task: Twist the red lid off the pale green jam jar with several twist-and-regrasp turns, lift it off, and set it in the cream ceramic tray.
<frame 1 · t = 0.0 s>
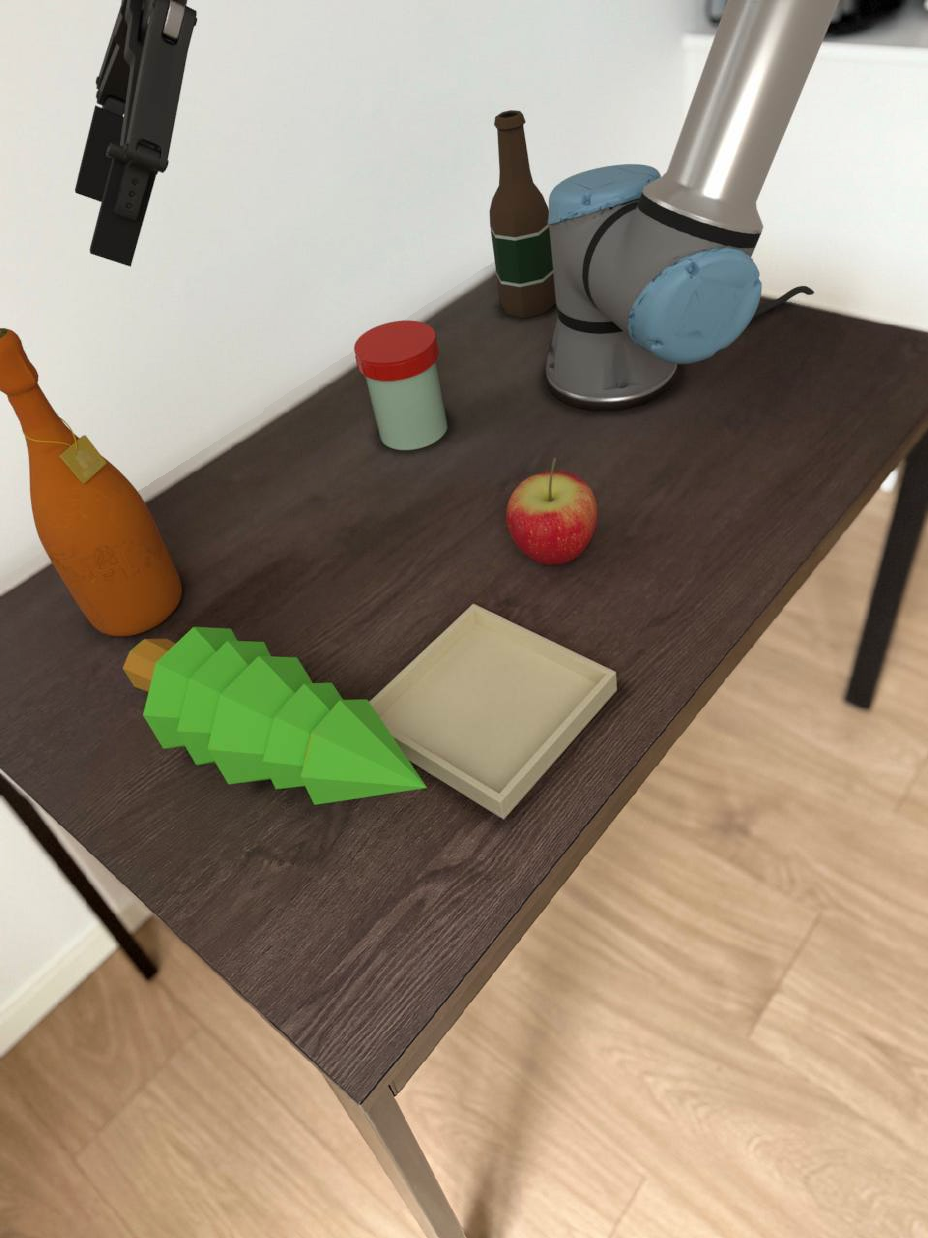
hand: (100, 226, 71), 36 cm above the table, tool tilted 35°, fingers open, 13 cm apart
jar: (413, 429, 111), on the table
apple: (555, 553, 92), on the table
lid: (395, 343, 103), point 11 cm above the table, screwed on, not yet turned
beer bottle: (528, 306, 128), on the table
tray: (488, 711, 79), on the table
decorative tree: (286, 767, 78), on the table
wine bottle: (139, 608, 95), on the table
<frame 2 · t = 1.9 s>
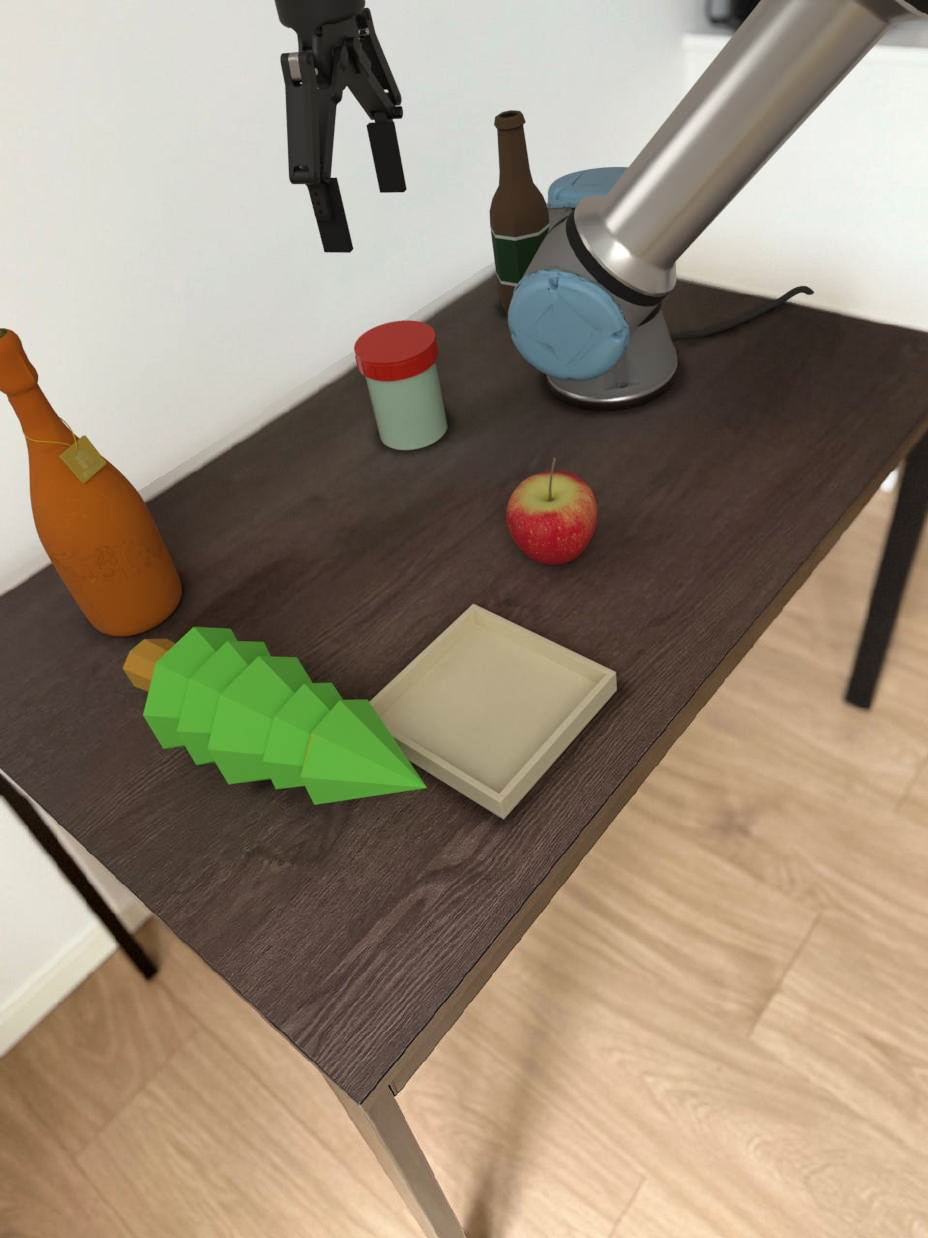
hand: (367, 219, 93), 25 cm above the table, tool pointing down, fingers open, 13 cm apart
nothing on the table moved.
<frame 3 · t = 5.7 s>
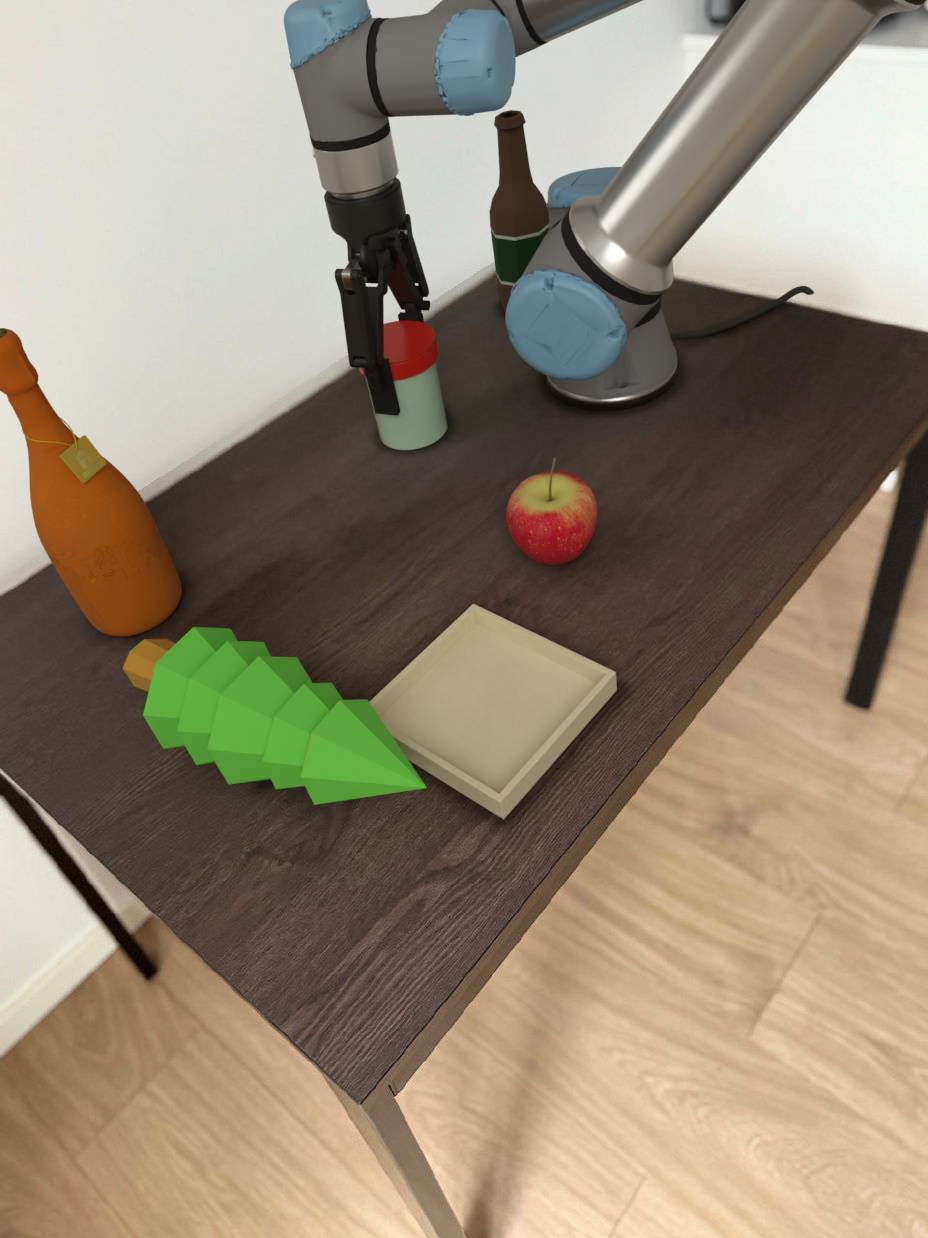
hand: (404, 388, 107), 5 cm above the table, tool pointing down, fingers closed on lid, 9 cm apart
lid: (395, 343, 103), point 11 cm above the table, screwed on, not yet turned, touching gripper
everything else where it was.
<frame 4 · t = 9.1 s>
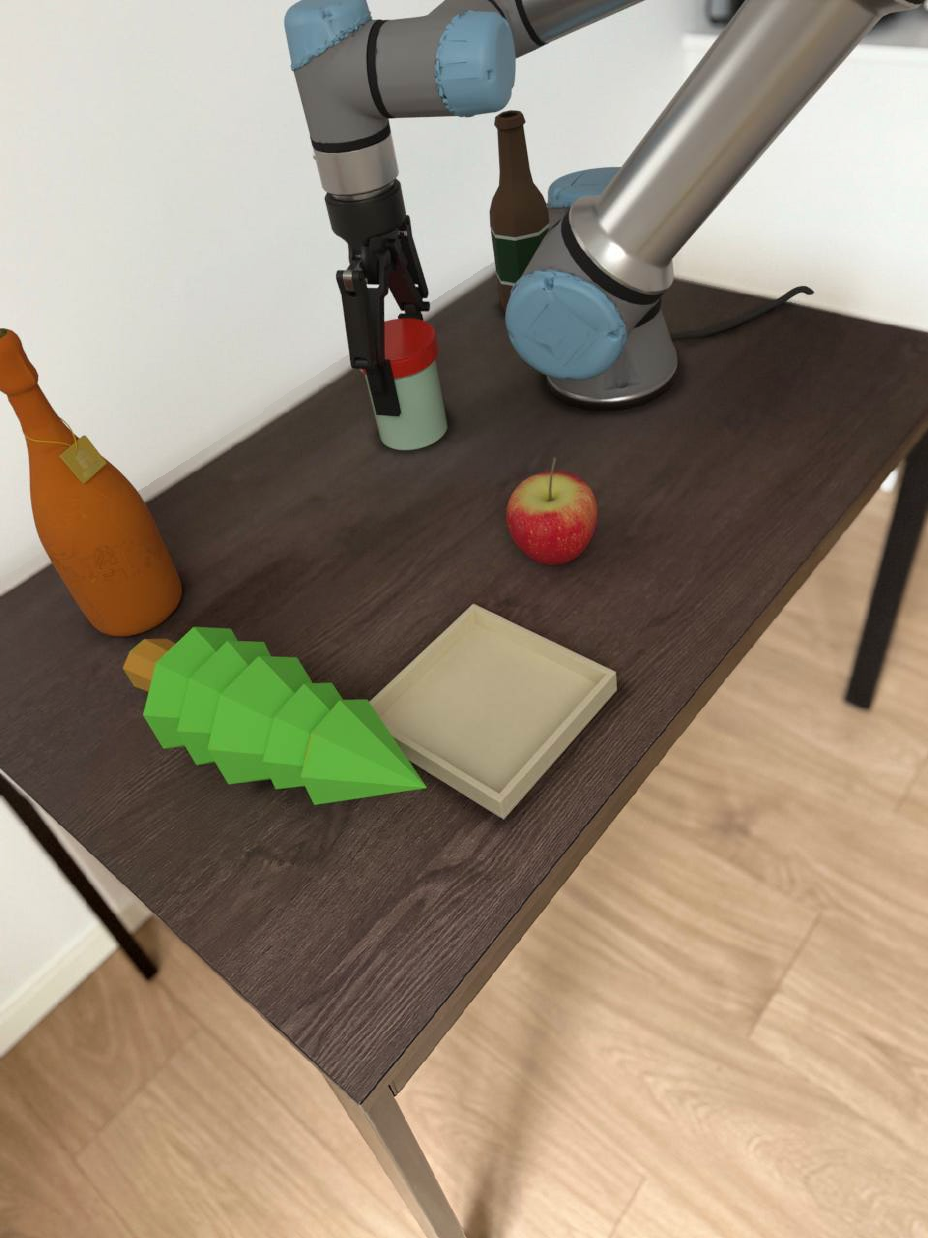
hand: (405, 389, 107), 5 cm above the table, tool pointing down, fingers closed on lid, 9 cm apart
lid: (394, 341, 103), point 11 cm above the table, turned 89° so far, risen 0.2 cm, still on its thread, touching gripper
everything else where it was.
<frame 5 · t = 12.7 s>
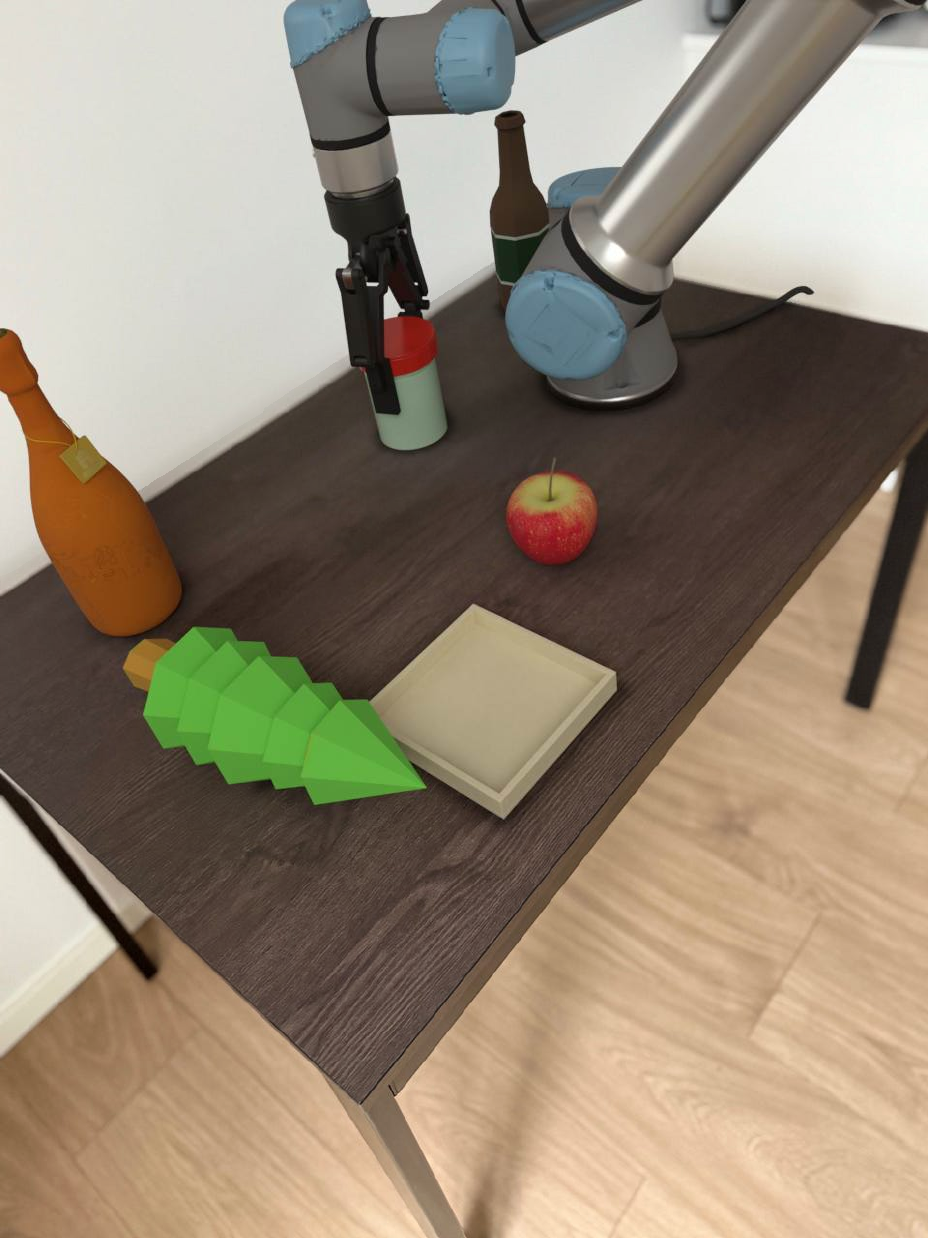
hand: (404, 388, 107), 6 cm above the table, tool pointing down, fingers closed on lid, 9 cm apart
lid: (394, 339, 103), point 12 cm above the table, turned 178° so far, risen 0.5 cm, still on its thread, touching gripper
everything else where it was.
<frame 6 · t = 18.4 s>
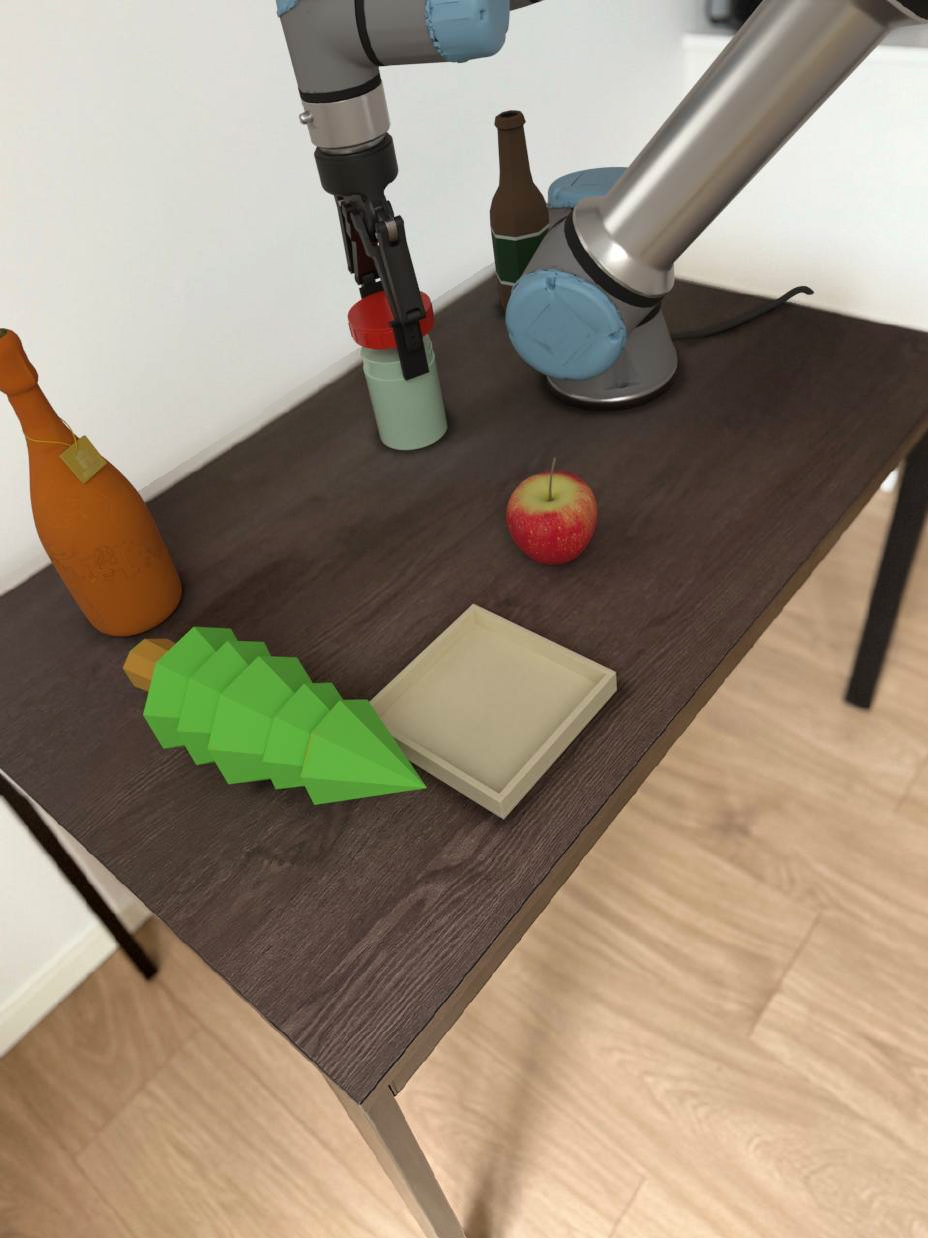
hand: (399, 356, 104), 10 cm above the table, tool pointing down, fingers closed on lid, 9 cm apart
lid: (389, 311, 100), point 15 cm above the table, off its thread, touching gripper
everything else where it was.
when the fingers open (2 cm above the table, at t = 27.7 s): lid drops 5 cm, resting on tray.
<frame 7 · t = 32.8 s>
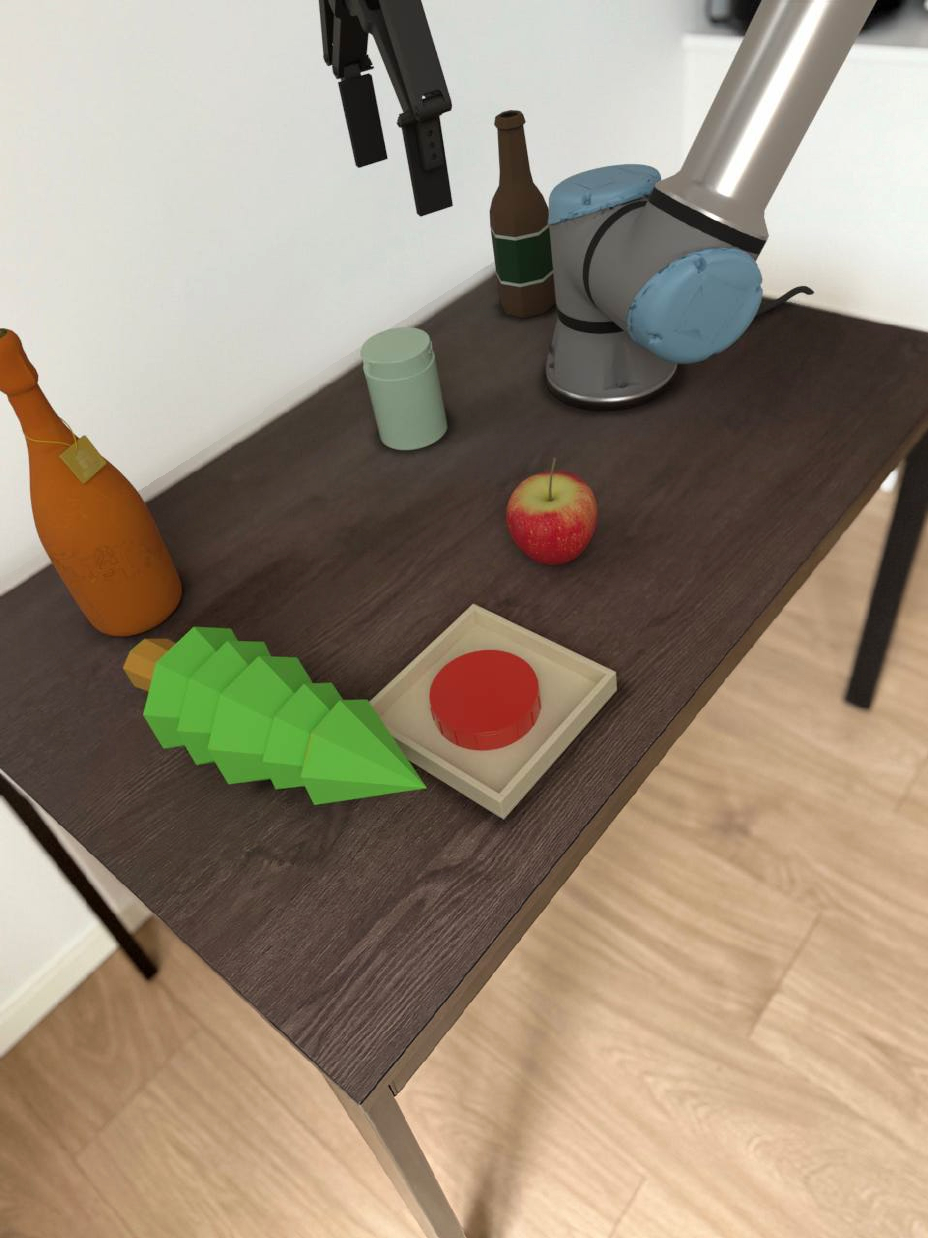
hand: (401, 185, 77), 33 cm above the table, tool pointing down, fingers open, 13 cm apart
lid: (484, 692, 77), point 2 cm above the table, off its thread, touching tray
everything else where it was.
at the end: lid came off its thread; lid inside the target area in the tray (0.1 cm from its centre), point 2.4 cm above the tray's base; the gripper is holding nothing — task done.
